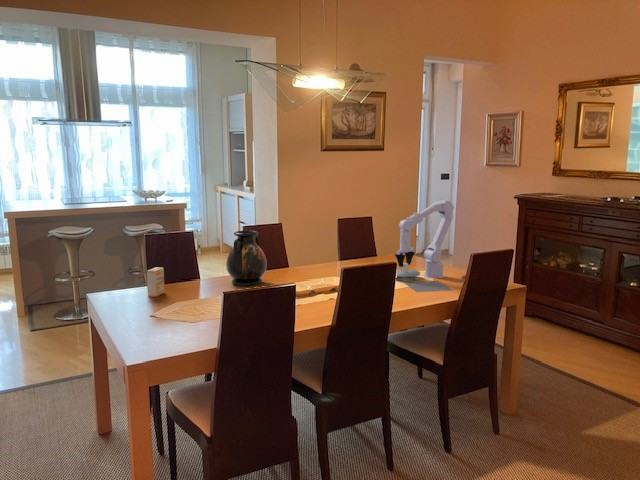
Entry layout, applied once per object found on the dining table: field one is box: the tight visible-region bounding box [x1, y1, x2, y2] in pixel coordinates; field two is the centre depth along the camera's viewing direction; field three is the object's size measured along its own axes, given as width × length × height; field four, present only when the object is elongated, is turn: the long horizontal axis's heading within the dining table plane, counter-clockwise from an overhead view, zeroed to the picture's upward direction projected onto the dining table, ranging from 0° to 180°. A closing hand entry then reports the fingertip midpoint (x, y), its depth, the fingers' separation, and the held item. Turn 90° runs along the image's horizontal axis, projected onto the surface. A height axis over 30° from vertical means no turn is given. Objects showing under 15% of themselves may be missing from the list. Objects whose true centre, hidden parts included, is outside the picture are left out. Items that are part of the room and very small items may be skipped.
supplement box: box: [146, 266, 165, 298], centre depth 252 cm, size 8×5×13 cm, turn 168°
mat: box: [402, 280, 454, 293], centre depth 269 cm, size 20×20×1 cm
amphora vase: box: [225, 230, 268, 287], centre depth 273 cm, size 22×22×28 cm
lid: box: [396, 262, 421, 277], centre depth 285 cm, size 17×17×6 cm
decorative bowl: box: [396, 276, 418, 282], centre depth 286 cm, size 15×4×15 cm
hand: (404, 265), depth 285 cm, fingers open, 7 cm apart
